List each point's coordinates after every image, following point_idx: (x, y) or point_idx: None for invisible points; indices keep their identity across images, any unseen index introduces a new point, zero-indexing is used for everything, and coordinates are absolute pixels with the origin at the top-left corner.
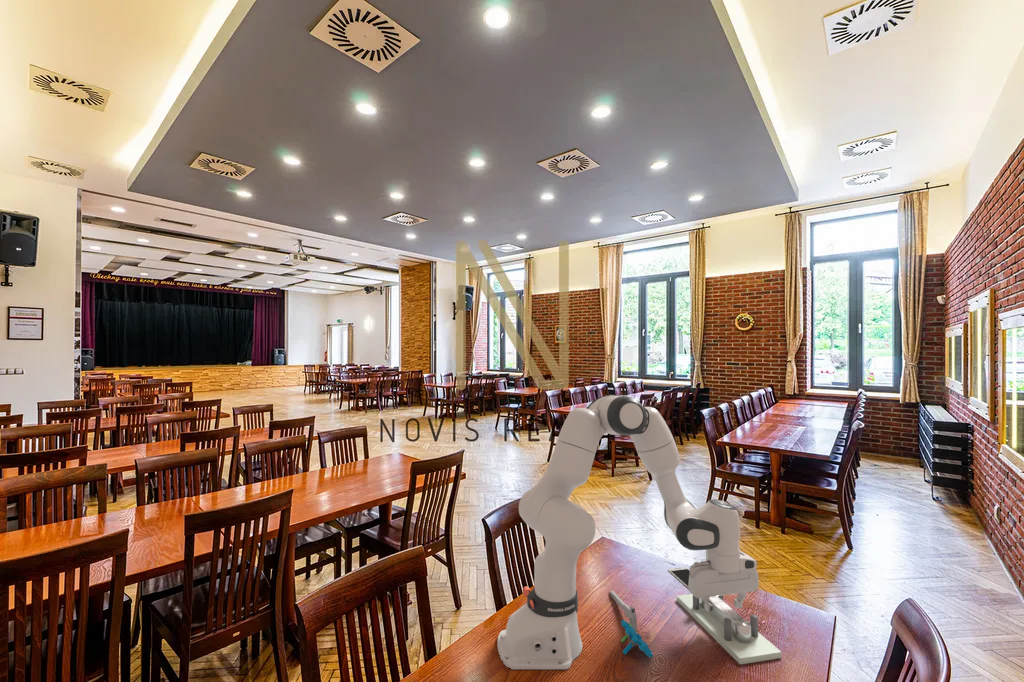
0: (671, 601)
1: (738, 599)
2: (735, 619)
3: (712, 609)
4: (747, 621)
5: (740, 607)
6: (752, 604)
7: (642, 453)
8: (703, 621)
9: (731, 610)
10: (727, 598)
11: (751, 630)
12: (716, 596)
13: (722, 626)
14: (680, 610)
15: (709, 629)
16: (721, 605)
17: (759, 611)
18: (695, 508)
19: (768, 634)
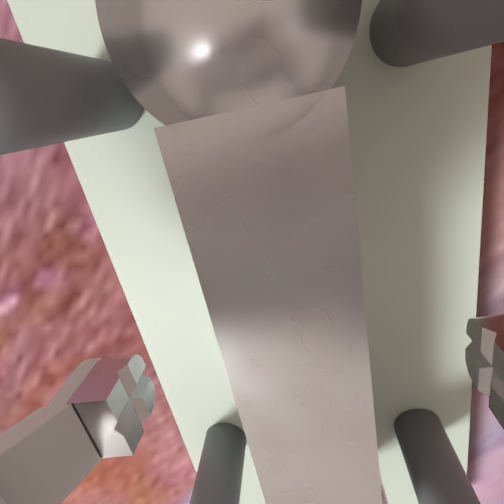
0: (488, 490)
1: (81, 442)
2: (283, 113)
3: (490, 327)
4: (120, 57)
5: (106, 358)
6: None
7: None
8: (470, 289)
9: (236, 307)
10: (142, 481)
11: (120, 86)
12: (274, 502)
13: None
14: (492, 423)
15: (477, 197)
16: (305, 392)
17: (4, 384)
18: None
19: (6, 177)
